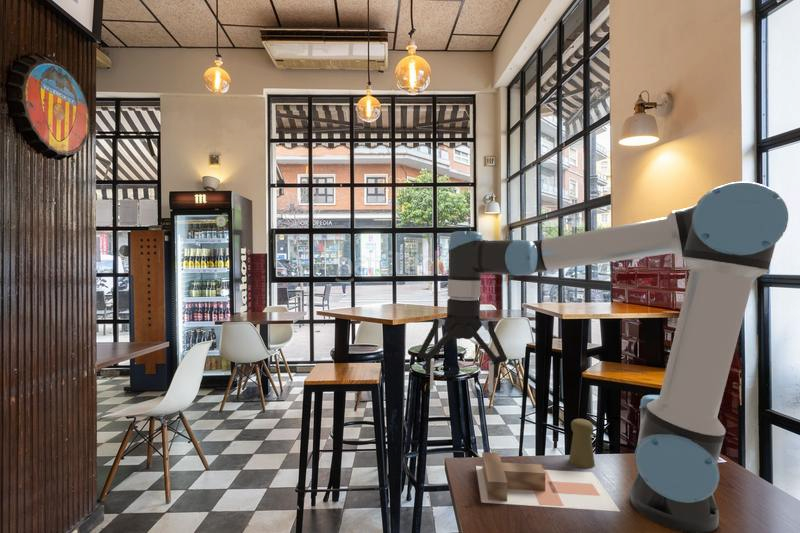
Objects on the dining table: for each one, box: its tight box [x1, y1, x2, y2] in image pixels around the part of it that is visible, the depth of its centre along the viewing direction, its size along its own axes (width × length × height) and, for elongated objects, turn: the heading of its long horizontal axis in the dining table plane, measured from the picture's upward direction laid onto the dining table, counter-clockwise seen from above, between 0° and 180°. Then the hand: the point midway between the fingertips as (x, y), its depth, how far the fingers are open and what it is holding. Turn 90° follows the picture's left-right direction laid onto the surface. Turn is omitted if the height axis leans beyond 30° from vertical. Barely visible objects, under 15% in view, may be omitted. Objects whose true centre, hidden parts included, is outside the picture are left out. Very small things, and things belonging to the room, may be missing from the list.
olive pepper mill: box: [568, 418, 596, 469], centre depth 106 cm, size 6×6×11 cm
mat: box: [475, 465, 621, 513], centre depth 94 cm, size 28×16×1 cm, turn 84°
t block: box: [481, 451, 545, 501], centre depth 95 cm, size 13×14×4 cm
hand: (460, 389), depth 96 cm, fingers open, 13 cm apart
